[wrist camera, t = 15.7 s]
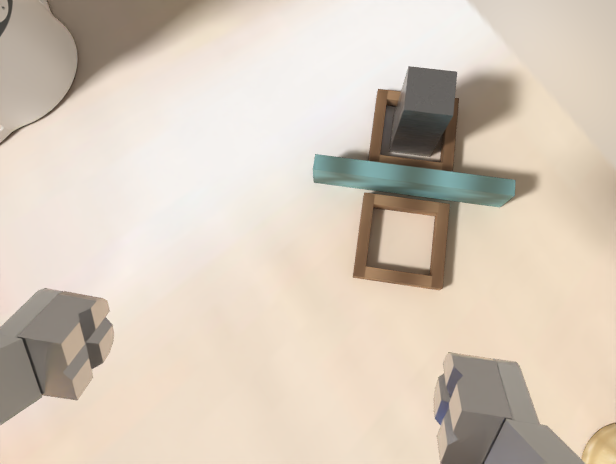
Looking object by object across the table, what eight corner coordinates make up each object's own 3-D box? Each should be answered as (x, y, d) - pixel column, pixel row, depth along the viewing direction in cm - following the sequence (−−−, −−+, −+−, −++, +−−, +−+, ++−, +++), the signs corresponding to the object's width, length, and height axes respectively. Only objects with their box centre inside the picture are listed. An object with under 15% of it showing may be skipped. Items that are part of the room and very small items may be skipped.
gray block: (389, 151, 45) (403, 109, 37) (393, 115, 46) (408, 66, 38) (429, 156, 45) (453, 115, 37) (433, 120, 46) (457, 71, 38)
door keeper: (299, 269, 43) (297, 263, 40) (328, 89, 47) (328, 69, 44) (494, 298, 42) (509, 294, 38) (505, 110, 46) (520, 92, 43)
